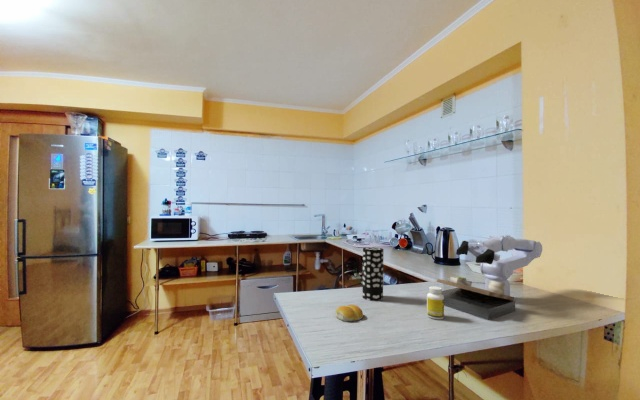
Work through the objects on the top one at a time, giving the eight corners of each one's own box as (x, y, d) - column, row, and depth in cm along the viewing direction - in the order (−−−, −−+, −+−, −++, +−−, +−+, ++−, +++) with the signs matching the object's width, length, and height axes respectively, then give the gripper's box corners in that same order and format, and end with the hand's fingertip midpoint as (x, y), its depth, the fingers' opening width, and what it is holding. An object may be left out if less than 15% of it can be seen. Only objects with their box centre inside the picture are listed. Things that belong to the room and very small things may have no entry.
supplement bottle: (445, 320, 92) (445, 290, 92) (428, 319, 93) (428, 289, 93) (442, 314, 97) (442, 286, 97) (425, 313, 98) (425, 285, 98)
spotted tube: (367, 293, 120) (368, 246, 121) (386, 297, 116) (386, 248, 116) (358, 298, 114) (359, 248, 114) (377, 302, 109) (378, 250, 110)
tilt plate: (462, 287, 119) (463, 274, 120) (513, 300, 102) (515, 286, 103) (437, 281, 111) (439, 268, 112) (489, 295, 94) (491, 280, 95)
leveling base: (460, 295, 120) (460, 286, 120) (515, 311, 102) (515, 301, 102) (433, 301, 111) (433, 292, 111) (488, 320, 92) (488, 309, 93)
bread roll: (367, 318, 93) (367, 306, 93) (346, 324, 88) (346, 311, 88) (351, 311, 100) (351, 299, 100) (331, 315, 95) (331, 303, 95)
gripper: (470, 233, 117) (450, 239, 110) (507, 245, 105) (488, 253, 98) (468, 248, 118) (448, 256, 112) (504, 262, 106) (485, 271, 100)
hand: (466, 255), depth 105 cm, fingers open, 7 cm apart
